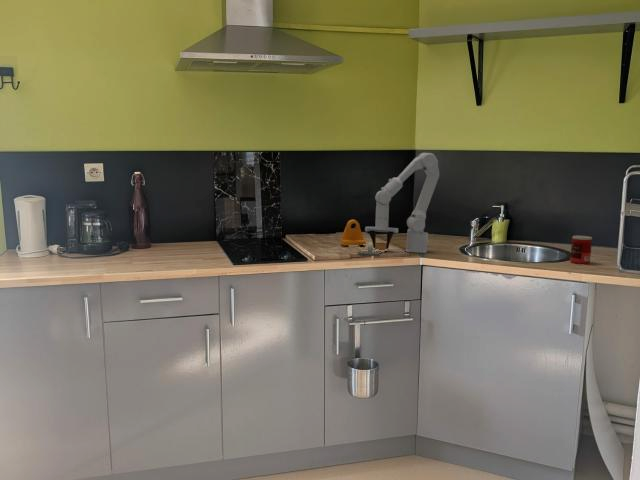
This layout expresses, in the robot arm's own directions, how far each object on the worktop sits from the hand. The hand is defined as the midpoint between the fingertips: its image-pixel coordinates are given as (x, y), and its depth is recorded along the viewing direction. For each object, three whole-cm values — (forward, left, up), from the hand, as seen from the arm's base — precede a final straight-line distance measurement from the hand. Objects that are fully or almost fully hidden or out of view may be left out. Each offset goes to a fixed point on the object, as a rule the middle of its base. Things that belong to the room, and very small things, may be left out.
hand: (380, 248), depth 275 cm
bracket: (+14, -10, -2) cm, 18 cm away
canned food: (-84, -2, -2) cm, 84 cm away
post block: (+3, +8, -1) cm, 9 cm away
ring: (0, 0, -1) cm, 1 cm away
